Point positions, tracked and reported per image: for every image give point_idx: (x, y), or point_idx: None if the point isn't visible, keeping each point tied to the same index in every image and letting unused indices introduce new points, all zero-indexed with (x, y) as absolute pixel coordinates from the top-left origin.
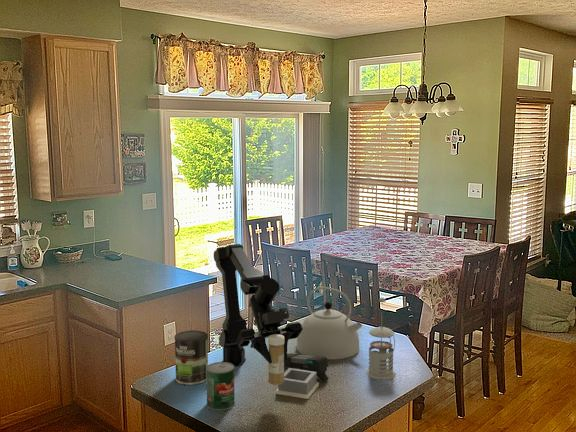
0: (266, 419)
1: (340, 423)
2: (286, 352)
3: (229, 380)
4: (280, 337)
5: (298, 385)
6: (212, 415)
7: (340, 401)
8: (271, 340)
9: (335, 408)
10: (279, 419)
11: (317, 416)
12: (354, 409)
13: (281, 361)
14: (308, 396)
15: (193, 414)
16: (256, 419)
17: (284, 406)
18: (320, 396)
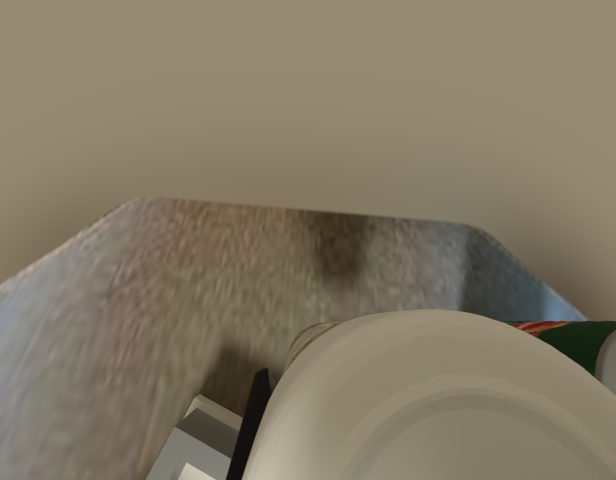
0: (345, 254)
1: (148, 216)
2: (246, 427)
3: (551, 341)
4: (355, 457)
5: (216, 439)
6: (499, 290)
7: (88, 363)
8: (546, 349)
9: (127, 308)
10: (310, 251)
11: (200, 260)
12: (69, 296)
13: (304, 337)
14: (193, 403)
15: (554, 300)
16: (373, 256)
17: (289, 336)
18: (145, 417)
